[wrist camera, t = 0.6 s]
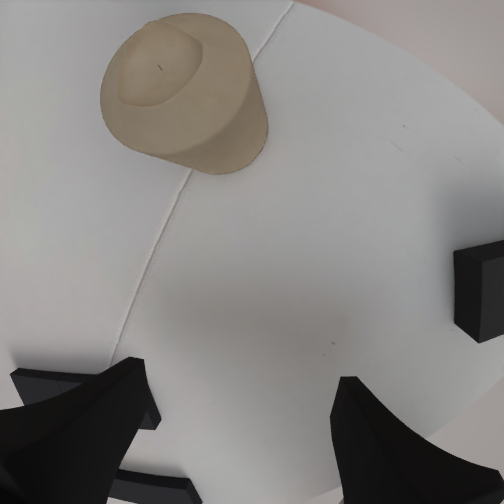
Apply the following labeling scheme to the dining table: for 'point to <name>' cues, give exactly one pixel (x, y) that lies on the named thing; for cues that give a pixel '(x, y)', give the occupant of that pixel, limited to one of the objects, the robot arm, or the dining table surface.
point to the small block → (480, 291)
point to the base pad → (125, 482)
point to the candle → (186, 94)
